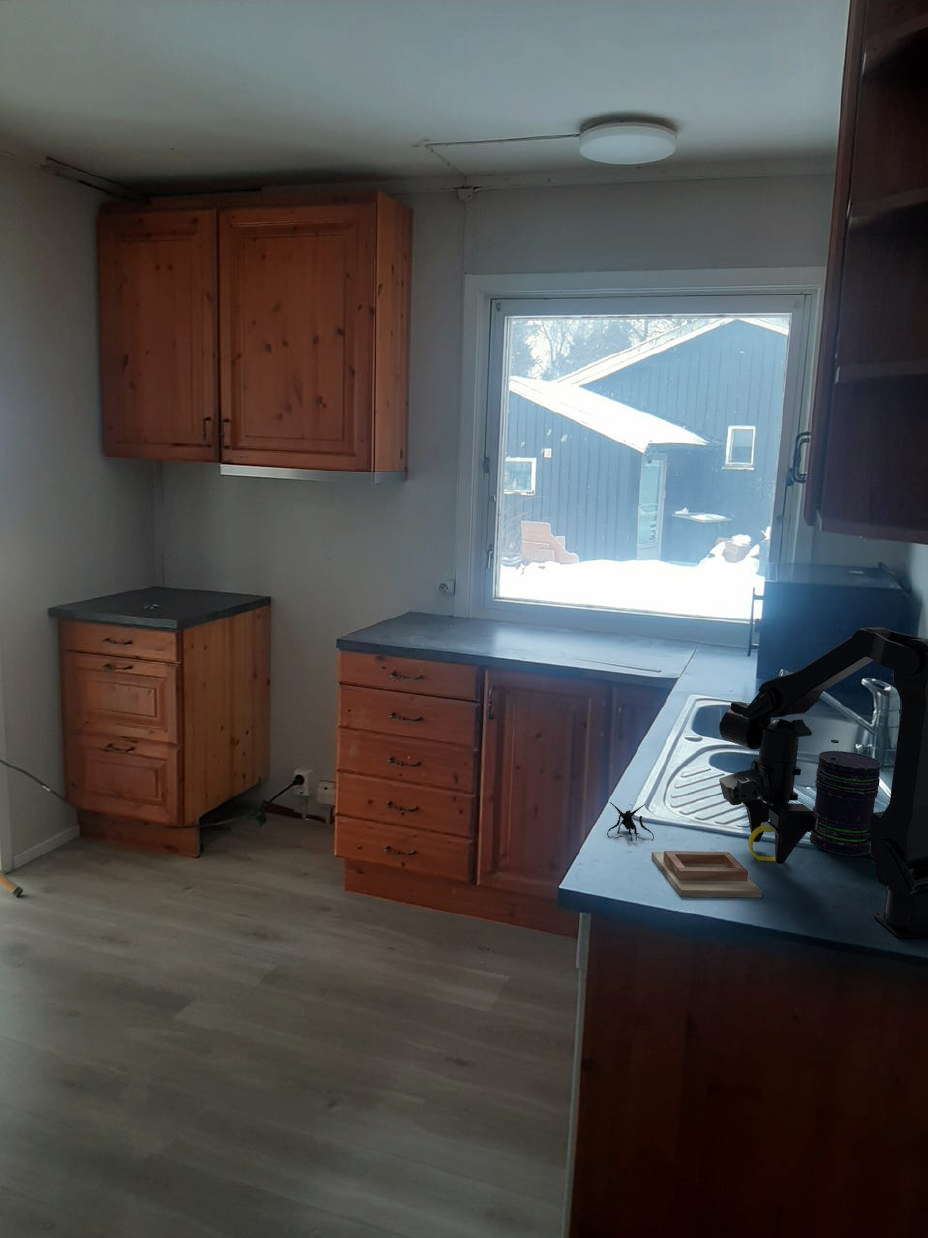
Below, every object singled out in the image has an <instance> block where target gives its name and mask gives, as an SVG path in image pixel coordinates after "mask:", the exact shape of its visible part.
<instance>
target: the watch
mask: <svg viewBox="0 0 928 1238" xmlns="http://www.w3.org/2000/svg"><path fill="white" fill-rule="evenodd" d="M762 831H764V832H769V833H775V831H774V830H773V829H772V828H771V827H770V825H769V824H768V823H767V822H763V823H761V826H760V827H758V828H756V829H754V831H753V832H752V833H751V832H750V834H749V837H748V849H749V852H750V854H752V856H753V857H754V858H755V859H756V860H757V861H758V862H761V861H762V862H775V863H776V858H775V855H774V856H762V855H757V854H756V853H755V851H754V843H755V842H754V839H755V837H756V836H757V835H758V834H759V833H760V832H762Z"/></svg>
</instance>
